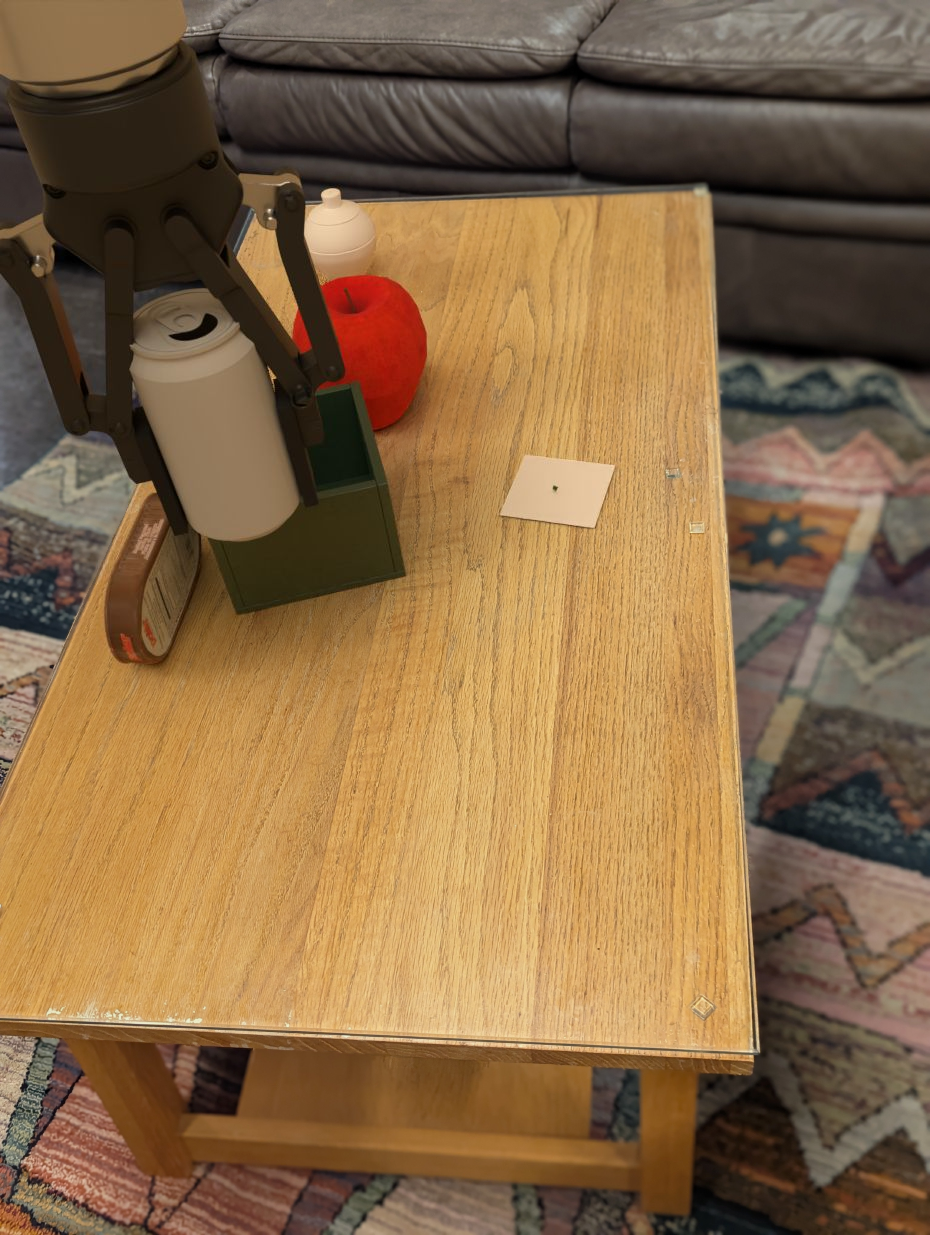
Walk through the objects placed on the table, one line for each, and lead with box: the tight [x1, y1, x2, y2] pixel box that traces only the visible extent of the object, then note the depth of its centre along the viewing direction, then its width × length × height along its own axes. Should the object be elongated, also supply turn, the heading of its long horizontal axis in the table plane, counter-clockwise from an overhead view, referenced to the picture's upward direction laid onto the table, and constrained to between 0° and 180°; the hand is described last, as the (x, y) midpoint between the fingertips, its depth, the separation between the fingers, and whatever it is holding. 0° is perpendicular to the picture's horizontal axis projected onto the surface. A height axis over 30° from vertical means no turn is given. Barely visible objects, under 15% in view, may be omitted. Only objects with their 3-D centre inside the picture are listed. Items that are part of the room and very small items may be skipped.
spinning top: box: [304, 188, 378, 282], centre depth 110 cm, size 8×8×12 cm
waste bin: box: [207, 381, 407, 616], centre depth 86 cm, size 14×14×10 cm
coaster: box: [498, 454, 616, 529], centre depth 90 cm, size 8×8×1 cm
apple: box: [291, 274, 428, 431], centre depth 95 cm, size 12×12×13 cm
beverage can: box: [130, 287, 301, 541], centre depth 55 cm, size 6×6×12 cm
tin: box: [103, 491, 203, 665], centre depth 82 cm, size 15×3×8 cm, turn 174°
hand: (245, 503), depth 59 cm, fingers closed on beverage can, 6 cm apart
